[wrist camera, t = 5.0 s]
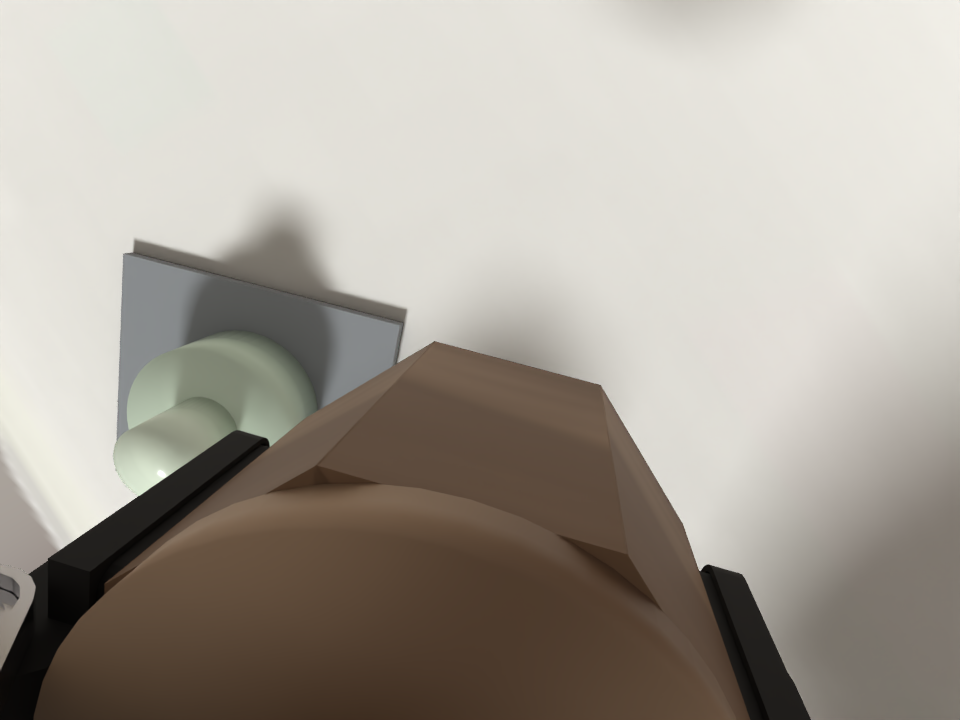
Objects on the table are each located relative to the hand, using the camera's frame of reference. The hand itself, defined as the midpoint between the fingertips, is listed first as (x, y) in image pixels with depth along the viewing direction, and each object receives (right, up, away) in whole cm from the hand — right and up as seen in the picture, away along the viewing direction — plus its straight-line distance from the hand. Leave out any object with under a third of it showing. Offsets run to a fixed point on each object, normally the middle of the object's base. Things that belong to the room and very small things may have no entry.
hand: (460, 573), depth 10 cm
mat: (-11, +2, +20) cm, 23 cm away
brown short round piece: (0, 0, +1) cm, 1 cm away
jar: (-11, +2, +19) cm, 22 cm away
